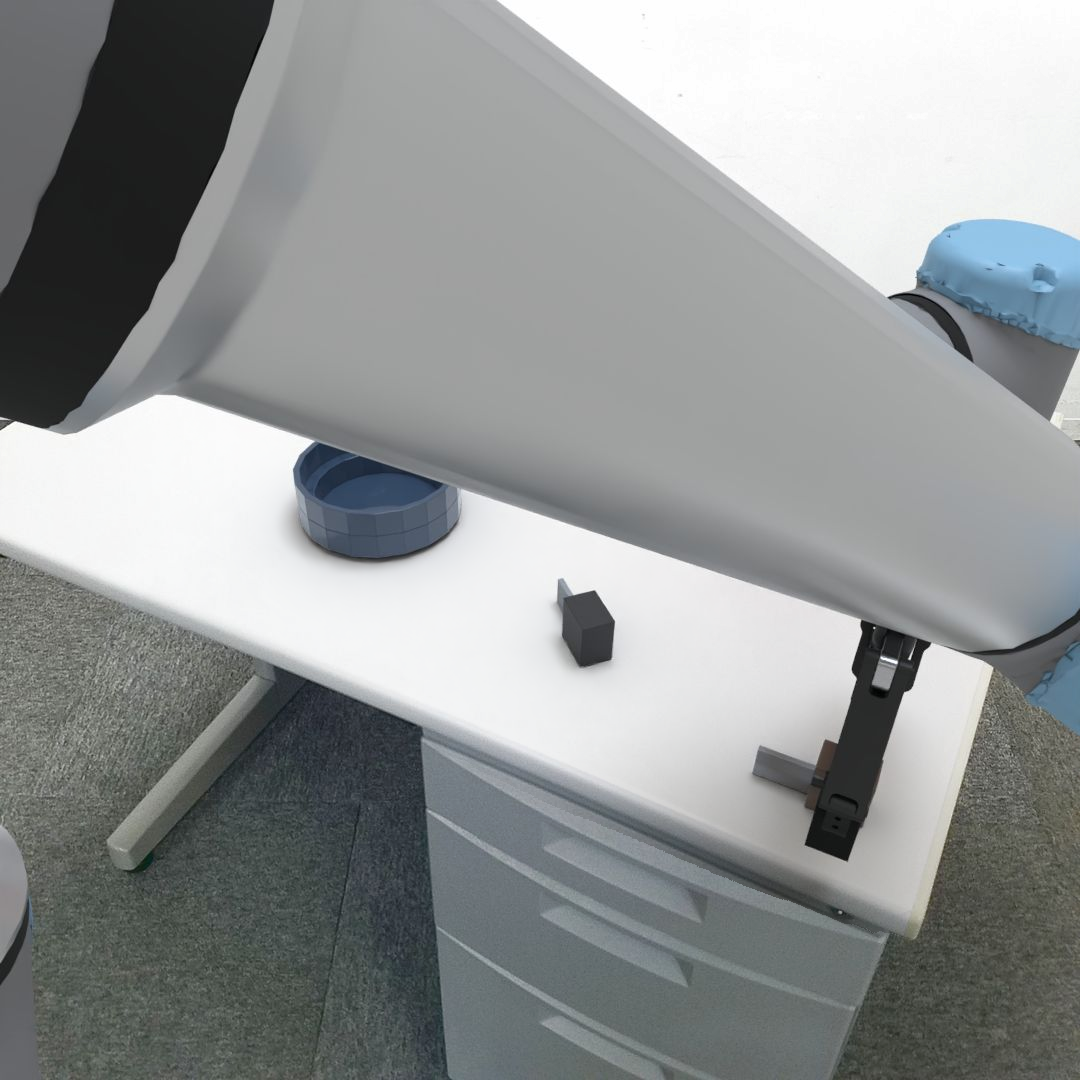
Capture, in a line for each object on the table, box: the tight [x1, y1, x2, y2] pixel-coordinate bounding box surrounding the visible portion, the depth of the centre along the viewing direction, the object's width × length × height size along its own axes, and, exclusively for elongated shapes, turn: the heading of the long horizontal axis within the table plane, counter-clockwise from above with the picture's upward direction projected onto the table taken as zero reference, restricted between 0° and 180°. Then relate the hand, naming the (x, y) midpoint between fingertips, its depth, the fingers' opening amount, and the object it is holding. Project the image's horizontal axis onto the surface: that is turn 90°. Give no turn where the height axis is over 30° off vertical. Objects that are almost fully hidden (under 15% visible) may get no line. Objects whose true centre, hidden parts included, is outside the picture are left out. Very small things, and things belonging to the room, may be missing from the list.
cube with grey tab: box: [556, 577, 616, 668], centre depth 79 cm, size 8×3×4 cm, turn 21°
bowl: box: [292, 441, 462, 559], centre depth 91 cm, size 15×15×6 cm
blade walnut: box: [752, 739, 885, 829], centre depth 66 cm, size 8×3×4 cm, turn 64°
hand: (850, 770), depth 65 cm, fingers open, 13 cm apart
